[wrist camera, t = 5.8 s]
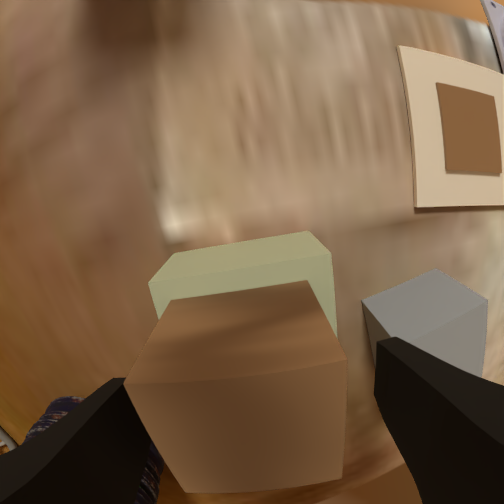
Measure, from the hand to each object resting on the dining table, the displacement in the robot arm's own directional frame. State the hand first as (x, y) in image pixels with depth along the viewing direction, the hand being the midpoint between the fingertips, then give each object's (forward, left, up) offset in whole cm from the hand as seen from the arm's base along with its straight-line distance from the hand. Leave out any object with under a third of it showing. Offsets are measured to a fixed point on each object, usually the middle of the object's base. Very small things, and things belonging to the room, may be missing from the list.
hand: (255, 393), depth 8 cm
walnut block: (0, 0, -2) cm, 2 cm away
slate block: (-8, +2, -6) cm, 10 cm away
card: (-12, -8, -6) cm, 16 cm away
